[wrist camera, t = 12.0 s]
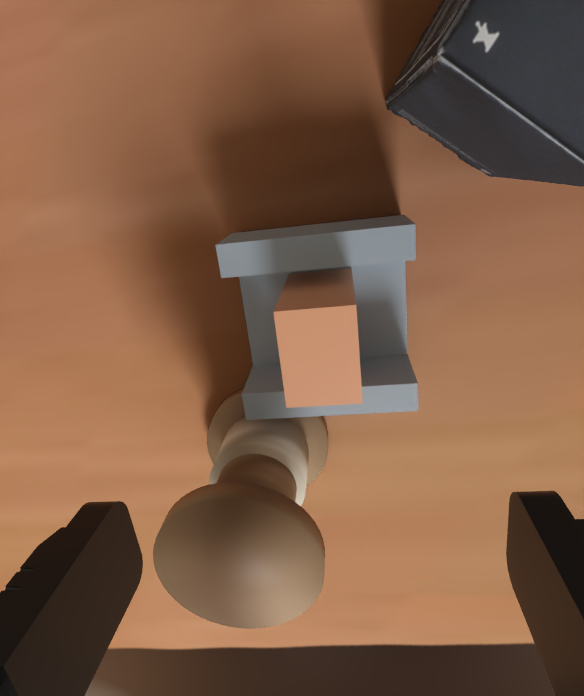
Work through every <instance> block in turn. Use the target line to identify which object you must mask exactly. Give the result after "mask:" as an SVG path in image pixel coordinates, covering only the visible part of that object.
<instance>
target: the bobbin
mask: <svg viewBox="0 0 584 696" xmlns="http://www.w3.org/2000/svg"><path fill="white" fill-rule="evenodd" d="M243 389H244V388H243ZM243 389H241V390H238V391H237V392H235V393H233V394H232V395H230V396H229V397H228V398H226V399H225V400H224V401H223V402H222V404H221V405H220V406H219V408H218V409H217V411H216V413H215V415H214V417H213V419H212V421H211V423H210V426H209V429H208V435H207V445H208V451H209V454H210V457H211V459H212V462H213V463H214V466H213V468H212V471H211V474H210V485H206V486H203V487H200V488H198V489H196V490H194V491H191V492H189V493H188V494H186V495H185V496H183V497H182V498H181V499H180V500H179V501H177V502H176V503H175V504H174V506H173V507H172V508H171V509H170V511H169V512H168V514H167V516H166V518H165V520H164V522H163V524H162V527H161V529H160V531H159V533H158V535H157V537H156V541H155V544H154V550H153V559H154V565H155V570H156V572H157V575H158V577H159V579H160V581H161V583H162V585H163V586H164V588H165V589H166V590H167V592H168V593H169V594H170V595H171V596H172V597H173V598H174V599H175V600H176V601H177V602H178V603H179V604H181V605H182V606H183V607H185V608H186V609H188V610H189V611H190V612H192V613H194V614H196V615H198V616H199V617H202V618H204V619H206V620H209V621H211V622H214V623H217V624H221V625H225V626H229V627H236V628H249V629H252V628H265V627H272V626H276V625H280V624H283V623H285V622H288V621H290V620H292V619H294V618H296V617H298V616H299V615H301V614H302V613H304V612H305V611H306V610H307V609H308V608H309V607H310V606H311V605H312V604H313V603H314V602H315V600H316V599H317V597H318V595H319V594H320V592H321V589H322V586H323V581H324V568H325V547H324V542H323V538H322V535H321V533H320V530H319V529H318V527H317V525H316V523H315V522H314V520H313V519H312V518H311V516H310V515H309V514H308V513H307V512H306V511H305V510H304V509H303V508H302V507H301V505H302V503H303V501H304V498H305V492H306V486H308V485H309V484H310V483H311V482H313V481H314V480H315V479H316V478H317V477H318V475H319V474H320V473H321V471H322V469H323V467H324V465H325V463H326V459H327V454H328V431H327V427H326V424H325V421H324V419H323V417H322V416H313V417H294V418H276V419H257V420H246V417H245V411H244V405H243V400H242V392H243Z"/></svg>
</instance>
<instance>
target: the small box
mask: <svg viewBox="0 0 584 696" xmlns="http://www.w3.org/2000/svg"><path fill="white" fill-rule="evenodd" d="M385 101H386V106H387V109H388V110H391V111H392V112H393V113H394V114H396V115H398V116H400V117H403V118H405V119H407V120H408V121H410V124H411V125H413V126H414V125H415V126H417V127H418V128H419V129H420V130H421V131H424V132H426V133H428V135H429V136H430V137H433V138H435V139H436V140H437V141H439V142H440V143H441V144H442V145H443V146H444V147H446V148H448V149H450V150H451V151H453V152H454V153H456V154H457V155H458V157H459V158H460V159H461V160H463V161H465V162H466V163H467V164H470V165H471V166H472V167H475V168H476V169H478V170H481V171H483V172H484V173H485V174H487V175H488V176H491V177H505V178H514V179H523V180H534V181H541V182H549V183H557V184H567V185H574V186H584V0H443V1H442V3H441V5H440V6H439V8H438V11H437V12H436V13H435V15H434V17H433V19H432V21H431V23H430V25H429V27H427V29H426V30H425V31H424V33H423V34H422V36H421V38H420V40H419V43H418V44H417V46H416V48H415V50H414V51H413V52H412V54H411V56H410V58H409V60H408V62H407V64H406V65H405V67H404V68H403V70H402V72H401V74H400V75H399V77H398V79H397V81H396V82H395V84H394V86H393V87H392V89H391V91H390V92H389V93H388V95H387V96H386V98H385Z"/></svg>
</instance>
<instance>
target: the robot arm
mask: <svg viewBox="0 0 584 696" xmlns="http://www.w3.org/2000/svg"><path fill="white" fill-rule="evenodd" d="M506 555H507V566H508V572H509V576H510V580H511V583H512V587H513V589H514V592H515V594H516V597H517V599H518V602H519V604H520V607H521V609H522V612H523V614H524V617H525V619H526V622H527V625H528V627H529V630H530V632H531V635H532V637H533V640H534V642H535V645H536V647H537V650H538V652H539V655H540V657H541V659H542V662H543V664H544V667H545V670H546V672H547V675H548V677H549V680H550V682H551V685H552V687H553V690H554V692H555V695H556V696H584V519H574V517H573V515H572V514H571V512H570V511H569V509H568V508H567V506H566V505H565V503H564V502H563V500H562V498H561V497H560V496H559V494H558V493H556V492H555V491H536V492H513V493H512V494H511V496H510V502H509V518H508V535H507V552H506ZM142 567H143V560H142V554H141V550H140V547H139V544H138V540H137V537H136V534H135V531H134V527H133V524H132V521H131V518H130V514H129V511H128V508H127V506H126V505H125V504H124V503H123V502H120V501H117V502H88V503H86V504H84V505H83V506H82V507H81V508H80V510H79V511H78V512H77V514H76V515H75V516H74V518H73V519H72V520H71V521H70V523H69V524H68V525H67V527H63V528H60V529H59V530H58V531H56V532H55V533H54V534H53V535H51V536H50V537H49V538H47V539H46V540H45V541H44V542H42V543H41V544H40V545H39V546H37V548H36V549H35V550H34V551H33V553H32V554H31V555H30V556H29V558H28V559H27V560H26V561H25V563H24V564H23V565H22V566H21V570H20V572H17V573H16V574H15V575H14V576H13V578H12V579H11V580H10V581H9V583H8V584H7V585H6V589H5V591H1V593H0V696H84V695H85V693H86V691H87V689H88V687H89V685H90V683H91V681H92V679H93V677H94V675H95V673H96V671H97V669H98V667H99V665H100V663H101V661H102V658H103V657H104V654H105V653H106V651H107V648H108V646H109V644H110V642H111V640H112V638H113V636H114V634H115V632H116V630H117V628H118V626H119V624H120V622H121V620H122V618H123V616H124V614H125V612H126V610H127V608H128V606H129V604H130V602H131V599H132V597H133V595H134V593H135V591H136V589H137V587H138V585H139V582H140V579H141V575H142Z"/></svg>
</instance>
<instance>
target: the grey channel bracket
mask: <svg viewBox="0 0 584 696" xmlns="http://www.w3.org/2000/svg"><path fill="white" fill-rule="evenodd" d="M216 251H217V257H218V263H219V268H220V274H221V278H230V277H239V281H240V287H241V294H242V300H243V306H244V312H245V319H246V325H247V331H248V337H249V343H250V350H251V356H252V362H253V367H252V369H251V372H250V374H249V377H248V379H247V382H246V384H245V387H244V389H243V392H242V400H243V405H244V411H245V417H246V420H257V419H276V418H294V417H313V416H331V415H350V414H368V413H387V412H405V411H418V383H417V380H416V377H415V374H414V371H413V369H412V366H411V363H410V360H409V358H408V355H407V313H406V271H405V261H410V260H416V230H415V223H414V222H412V221H411V220H410V219H409V218H408V217H406V216H405V215H397V216H388V217H378V218H369V219H359V220H350V221H341V222H331V223H322V224H313V225H303V226H294V227H284V228H275V229H266V230H256V231H247V232H238V233H231V234H230V235H228V236H227V237H226V238H224V239H223V240H221V241H220V242H219V243H217V244H216ZM344 268H351V269H352V277H353V284H354V291H355V299H356V307H357V322H358V338H359V353H360V368H361V383H362V399H363V404H346V405H328V406H310V407H293V408H286V401H285V394H284V386H283V379H282V372H281V364H280V357H279V350H278V342H277V335H276V328H275V320H274V313H273V311H274V309H275V307H276V304H277V302H278V299H279V297H280V294H281V292H282V290H283V287H284V285H285V282H286V280H287V277H288V275H289V274H291V273H302V272H312V271H323V270H334V269H344Z"/></svg>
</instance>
